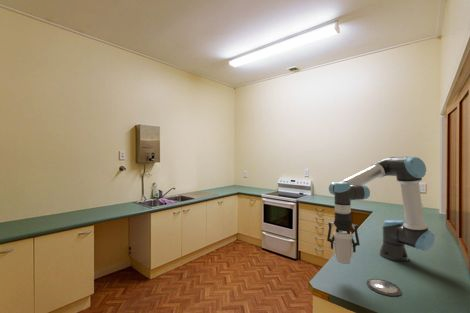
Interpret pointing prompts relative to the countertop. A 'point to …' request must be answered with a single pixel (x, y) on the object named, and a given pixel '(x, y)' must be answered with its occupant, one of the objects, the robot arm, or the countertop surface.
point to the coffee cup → (343, 246)
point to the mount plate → (383, 287)
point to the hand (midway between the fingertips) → (343, 256)
